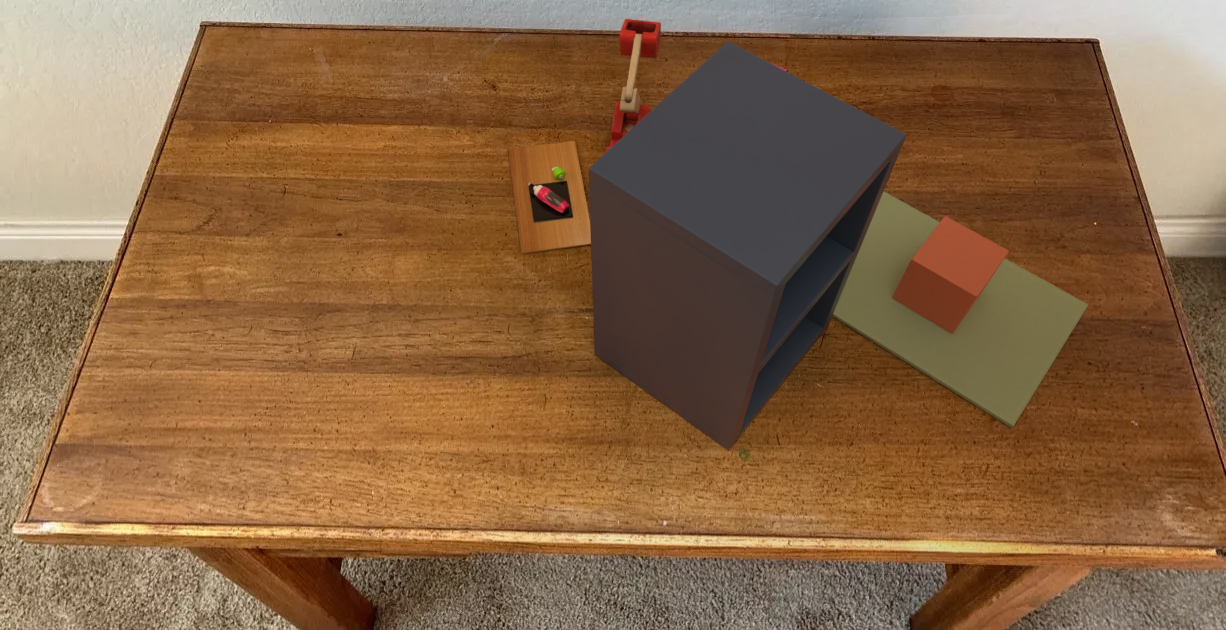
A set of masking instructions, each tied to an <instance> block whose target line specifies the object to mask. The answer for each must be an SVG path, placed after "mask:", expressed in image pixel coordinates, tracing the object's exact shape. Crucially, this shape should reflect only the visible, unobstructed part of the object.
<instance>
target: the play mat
mask: <svg viewBox="0 0 1226 630" xmlns="http://www.w3.org/2000/svg"><path fill="white" fill-rule="evenodd" d="M940 222H941V221H938V220H937V219H934V218H933V217H931V216H929V215H928V214H926V213H924V212H922V211H921V210H919V209H917V208H915V207H913V206H912V205H910V204H908V203H906V202H904V201H902V200H900V199H899V198H898V197H895V196H894V195H891V194H890V193H888V192H886V191H885V190H884V191H883V194H882V196H881V199H880V201H879V204H878V206H877V208H876V211H875V213H874V216H873V218H872V221H871V223H870V225H869V228H868V230H867V233H866V235H865V238H864V240H863V242H862V245H861V247H860V250H859V252H858V255H857V257H856V259H855V262H854V264H853V267H852V269H851V272H850V274H849V276H848V279H847V281H846V284H845V286H844V289H843V291H842V293H841V296H840V298H839V301H838V303H837V306H836V308H835V310H834V313H833V315H832V318H834V319H835V320H837V321H839V322H841V324H844V325H845V326H847V327H848V328H850V329H852V330H853V331H855V332H856V333H858V334H860V335H861V336H863V337H864V338H866V339H868V340H869V341H871V342H872V343H874V344H876V345H877V346H879V347H880V348H882V349H884V350H885V351H887V352H888V353H890V354H891V355H893V356H895V357H897V358H898V359H899V360H901V361H903V362H905V363H906V364H908V365H909V366H911V367H913V368H914V369H916V370H917V371H919V372H921V373H922V374H924V375H925V376H927V377H929V378H930V379H932V380H934V381H935V382H936V383H938V384H940V385H942V386H943V387H945V388H947V389H948V390H950V391H951V392H952V393H955V394H956V395H958V396H959V397H961V398H962V399H964V400H966V401H967V402H969V403H971V404H972V405H973V406H976V407H977V408H979V409H980V410H982V411H983V412H985V413H987V414H988V415H990V416H991V417H993V418H995V420H998V421H999V422H1001V423H1003V424H1004V425H1006V426H1008V427H1009V428H1010V429H1012V428H1014V426H1015V424H1016V423H1017V422H1018V420H1019V418H1020V416H1021V415H1022V413H1024V410H1025V409H1026V407H1027V406H1028V404H1029V403H1030V400H1031V399H1032V397H1033V395H1034V394H1035V392H1037V389H1038V388H1039V386H1040V384H1041V382H1042V381H1043V379H1044V378H1045V377H1046V374H1047V373H1048V372H1049V370H1050V368H1051V366H1052V365H1053V364H1054V361H1055V360H1056V358H1057V357H1058V355H1059V353H1060V352H1061V351H1062V349H1063V347H1064V345H1065V343H1066V342H1067V340H1068V339H1069V338H1070V336H1071V334H1072V333H1073V331H1074V329H1075V327H1076V326H1077V325H1078V322H1079V321H1080V319H1081V318H1082V317H1083V314H1085V311H1086V310H1087V308H1088V307H1089V304H1088V303H1086V302H1084V300H1083V301H1082V300H1081V299H1079V298H1077V297H1076V296H1074V295H1072V294H1070V293H1069V292H1066V291H1064V290H1063V289H1061V288H1060V287H1058V286H1055V285H1054V284H1052V283H1050V282H1049V281H1046V280H1045V279H1043V278H1041V277H1039V276H1037V275H1036V274H1034V273H1032V272H1030V271H1029V270H1027V269H1025V268H1023V267H1022V266H1019V265H1018V264H1016V263H1014V262H1012V261H1011V260H1008V259H1007V258H1006V257H1005V258H1004V260H1003V261H1002V263H1001V264H1000V266H999V267H998V269H997V270H996V272H995V273H994V275H993V277H992V278H991V280H990V281H989V283H988V284H987V286H986V287H985V289H984V290H983V292H982V293H981V294H980V296H979V297H978V299H977V300H976V302H975V303H974V304H973V306H972V307H971V309H970V310H969V311H968V313H967V314H966V316H965V317H964V319H963V320H962V321H961V323H960V324H959V326H958V327H957V329H956V330H955V331H954V333H953V334H951V333H949V332H948V331H946V330H944V329H943V328H941V327H939V326H938V325H936V324H934V323H933V322H931V321H929V320H928V319H926V318H924V317H923V316H921V315H919V314H918V313H916V312H914V311H913V310H911V309H909V308H908V307H906V306H904V305H903V304H901V303H899V302H898V301H896V300H894V299H893V298H892V297H893V295H894V293H895V291H896V289H897V287H898V285H899V283H900V281H901V279H902V277H903V275H904V273H905V271H906V269H907V267H908V265H909V263H910V261H911V259H912V258H913V256H914V255H915V254H916V253H917V251H918V250H919V249H920V247H921V246H922V245H923V244H924V242H925V241H926V240H927V238H928V237H929V236H930V234H931V233H932V232H933V231H934V229H935V228H936V227H937V225H938V224H939V223H940Z"/></svg>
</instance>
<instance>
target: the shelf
mask: <svg viewBox="0 0 1226 630" xmlns="http://www.w3.org/2000/svg"><path fill="white" fill-rule="evenodd" d="M773 64H774V63H772V62H769V61H767V60H765V59H763V58H762V57H760V56H758V55H755V53H752V52H750V51H749V50H747V49H744V48H742V47H741V46H739V45H737V44H735V43H732V42H730V41H729V40H727V41H726V42H724V44H723V45H721V47H720V48H718V49H717V50H716V51H715V52H714V53H713V54H711V55H710V56H709V57H708V58H707V59H706V60H705V61H704V62H703V63H702V64H701V65H700V66H699V67H697V68H696V69H695V70H694V71H693V72H692V73H691V74H689V76H688V77H687V78H685V79H684V80H683V81H682V82H681V83H680V84H679V85H678V86H677V87H676V88H675V89H673V90H672V91H671V92H670V93H669V94H668V95H667V96H666V97H664V98H663V100H661V101H660V102H659V103H657V105H656V106H655V107H654V108H653V109H652V110H650V113H648V114H647V115H646V116H645V117H644V118H643V119H642V120H641V121H640V122H639V123H638V124H636V125H635V126H634V127H633V128H632V129H631V130H630V131H629V132H628V133H627V134H626V135H624V136H623V137H622V138H621V139H620V140H619V141H618V142H617V143H616V144H615V145H613V146H612V147H611V148H610V149H609V150H608V151H607V152H606V153H605V152H604V154H603V155H601V156H600V157H599V158H598V159H597V160H596V161H595V162H594V163H593V164H592V165H590V166H589V167H588V194H589V195H588V196H589V197H588V198H589V218H590V231H591V245H590V257H591V258H590V259H591V287H592V290H591V291H592V320H593V321H592V323H593V344H594V345H593V352H594V356H596V357H597V358H598V359H600V360H601V361H602V362H604V363H605V364H606V365H608V366H609V367H611V368H612V369H613V370H615V371H616V372H618V373H619V374H621V375H622V376H623V377H625V379H628V380H629V381H631V382H632V383H633V384H634V385H635V386H637V387H638V388H640V389H642V391H644V392H645V393H647V394H649V395H650V396H651V397H652V398H654V399H655V400H656V401H659V403H661V404H662V405H663V406H665V407H667V408H668V409H670V410H671V411H672V412H674V413H675V414H677V415H678V416H679V417H681V418H682V419H683V420H685V421H686V422H688V423H689V424H690V425H691V426H693V427H695V428H696V429H698V430H699V431H700V432H702V433H703V434H705V436H707V437H709V438H710V439H711V440H713V441H714V442H716V444H718V445H719V446H721V447H723V448H724V449H725V450H727V451H728V452H729V451H730V450H732V448H733V447H734V445H735V444H736V443H737V442H738V440H739V439H740V438H741V437H742V435H743V434H744V433H745V432H746V430H748V428H749V427H750V426H751V424H752V423H753V422H754V420H755V419H756V418H757V416H758V415H759V414H760V413H761V412H762V410H763V409H764V408H765V406H766V405H767V404H768V403H769V401H770V400H771V399H772V398H773V396H774V395H775V394H776V393H777V391H778V390H779V389H780V388H781V386H782V385H783V384H784V382H786V380H787V379H788V378H789V376H790V375H791V374H792V373H793V371H794V370H795V369H796V367H798V366H799V364H800V363H801V361H802V360H803V359H804V357H806V355H807V353H808V352H809V351H810V350H811V349H812V347H813V346H814V345H815V344H816V342H817V341H818V340H819V339H820V337H821V336H822V335H823V333H824V332H825V331H826V330H827V328H828V327H829V326H830V323H831V321H832V318H833V317H832V315H833V313H834V310H835V308H836V306H837V303H838V301H839V298H840V296H841V293H842V291H843V289H844V286H845V284H846V281H847V279H848V276H849V274H850V272H851V269H852V267H853V264H854V262H855V259H856V257H857V255H858V252H859V250H860V247H861V245H862V242H863V240H864V238H865V235H866V233H867V230H868V228H869V225H870V223H871V221H872V218H873V216H874V213H875V211H876V208H877V206H878V204H879V201H880V199H881V196H882V194H883V191H884V192H885V189H886V187H887V184H888V182H889V179H890V177H891V174H892V172H893V170H894V167H895V165H896V162H897V160H898V157H899V155H900V153H901V150H902V147H903V145H904V142H905V140H906V138H907V134H906V133H904V132H903V131H901V130H899V129H898V128H895V127H893V126H891V125H889V124H888V123H885V122H883V121H882V120H880V119H878V118H876V117H874V116H872V115H870V114H868V113H867V112H864V111H863V110H861V109H859V108H857V107H855V106H853V105H851V104H849V103H847V102H845V101H844V100H842V99H840V98H838V97H836V96H834V95H833V94H830V93H828V92H826V91H825V90H823V89H821V88H818V87H817V86H815V85H813V84H811V83H810V82H808V81H805V80H803V79H802V78H800V77H797V76H796V75H794V74H792V73H790V72H789V71H788V72H786V71H784V70H782V69H781V68H779V67H780V66H779V67H777V66H778V65H777V66H775V65H776V64H774V65H773Z"/></svg>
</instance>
